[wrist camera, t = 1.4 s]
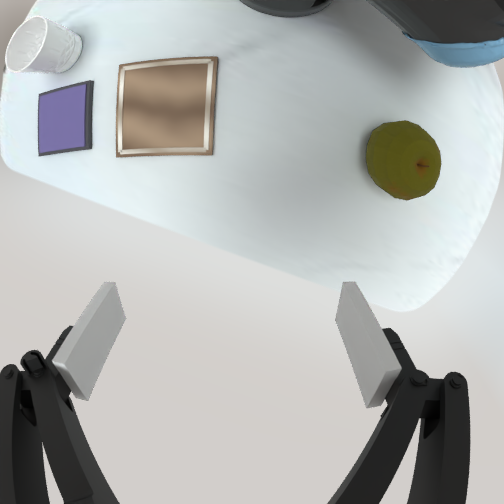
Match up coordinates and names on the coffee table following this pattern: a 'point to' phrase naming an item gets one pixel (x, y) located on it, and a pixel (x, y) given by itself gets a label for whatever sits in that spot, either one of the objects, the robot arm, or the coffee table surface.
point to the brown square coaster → (166, 107)
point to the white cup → (42, 47)
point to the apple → (403, 159)
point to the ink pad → (65, 119)
